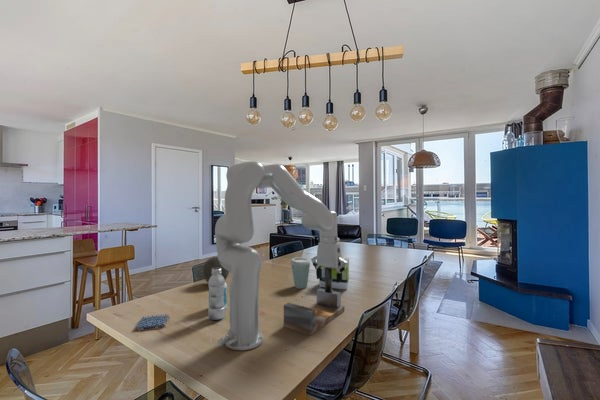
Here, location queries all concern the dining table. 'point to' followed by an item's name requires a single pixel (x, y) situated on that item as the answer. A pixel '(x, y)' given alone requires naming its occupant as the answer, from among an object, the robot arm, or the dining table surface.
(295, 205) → the robot arm
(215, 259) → the cantaloupe
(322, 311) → the press base
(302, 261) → the disposable coffee cup
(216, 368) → the dining table surface
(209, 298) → the pill bottle
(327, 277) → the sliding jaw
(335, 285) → the tea box
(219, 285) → the plastic bottle
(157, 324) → the woven mat
